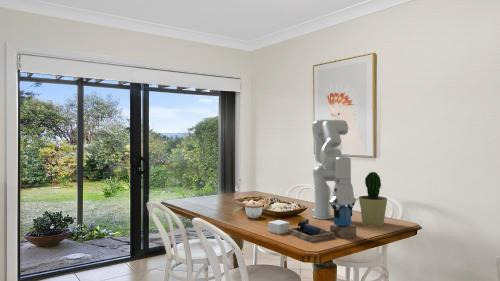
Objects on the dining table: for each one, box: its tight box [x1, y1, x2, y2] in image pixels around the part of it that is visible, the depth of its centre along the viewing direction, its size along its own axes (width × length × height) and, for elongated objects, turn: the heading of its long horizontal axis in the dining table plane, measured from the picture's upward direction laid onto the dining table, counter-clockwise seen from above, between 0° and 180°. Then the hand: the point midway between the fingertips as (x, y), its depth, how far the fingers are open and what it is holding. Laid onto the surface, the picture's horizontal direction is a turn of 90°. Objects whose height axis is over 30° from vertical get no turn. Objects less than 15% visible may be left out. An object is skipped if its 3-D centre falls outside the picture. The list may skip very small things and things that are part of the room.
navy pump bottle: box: [297, 218, 323, 236], centre depth 185 cm, size 9×8×12 cm
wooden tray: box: [287, 226, 336, 243], centre depth 183 cm, size 18×15×2 cm
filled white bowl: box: [244, 201, 263, 219], centre depth 226 cm, size 11×11×9 cm
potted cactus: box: [358, 171, 388, 227], centre depth 208 cm, size 15×15×30 cm
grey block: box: [267, 219, 291, 235], centre depth 191 cm, size 8×8×5 cm
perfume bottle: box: [333, 205, 352, 226], centre depth 183 cm, size 6×6×12 cm
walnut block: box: [329, 223, 357, 240], centre depth 182 cm, size 9×9×5 cm
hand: (343, 216), depth 182 cm, fingers closed on perfume bottle, 8 cm apart
